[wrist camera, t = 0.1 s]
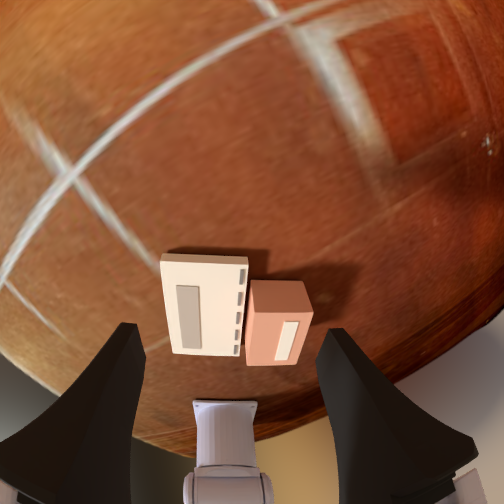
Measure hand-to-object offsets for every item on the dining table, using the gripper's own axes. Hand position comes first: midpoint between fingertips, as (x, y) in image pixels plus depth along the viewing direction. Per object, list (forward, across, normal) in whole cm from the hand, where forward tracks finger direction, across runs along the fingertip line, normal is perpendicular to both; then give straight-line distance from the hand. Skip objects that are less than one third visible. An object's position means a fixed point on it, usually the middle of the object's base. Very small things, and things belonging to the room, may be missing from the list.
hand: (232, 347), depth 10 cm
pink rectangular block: (+10, -4, +7) cm, 13 cm away
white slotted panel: (+10, +2, +7) cm, 12 cm away
